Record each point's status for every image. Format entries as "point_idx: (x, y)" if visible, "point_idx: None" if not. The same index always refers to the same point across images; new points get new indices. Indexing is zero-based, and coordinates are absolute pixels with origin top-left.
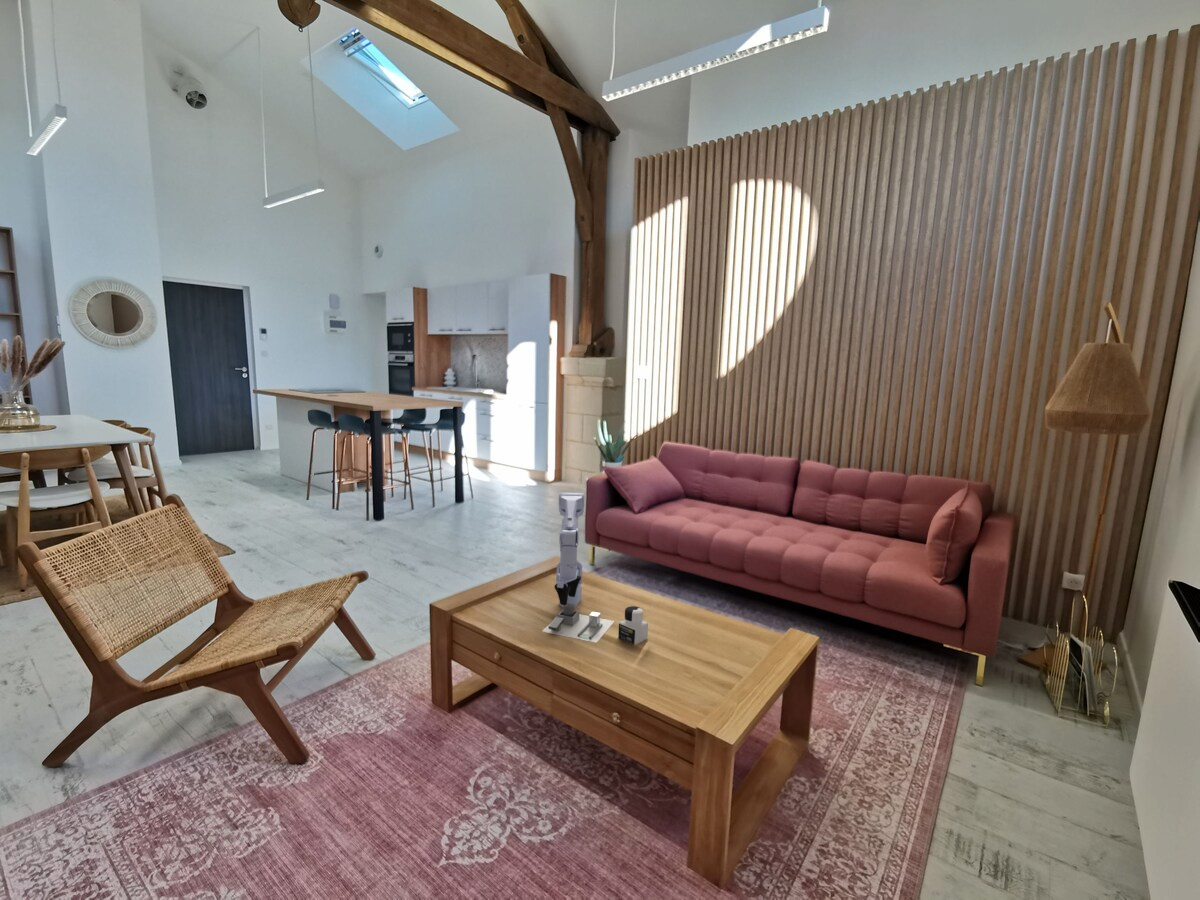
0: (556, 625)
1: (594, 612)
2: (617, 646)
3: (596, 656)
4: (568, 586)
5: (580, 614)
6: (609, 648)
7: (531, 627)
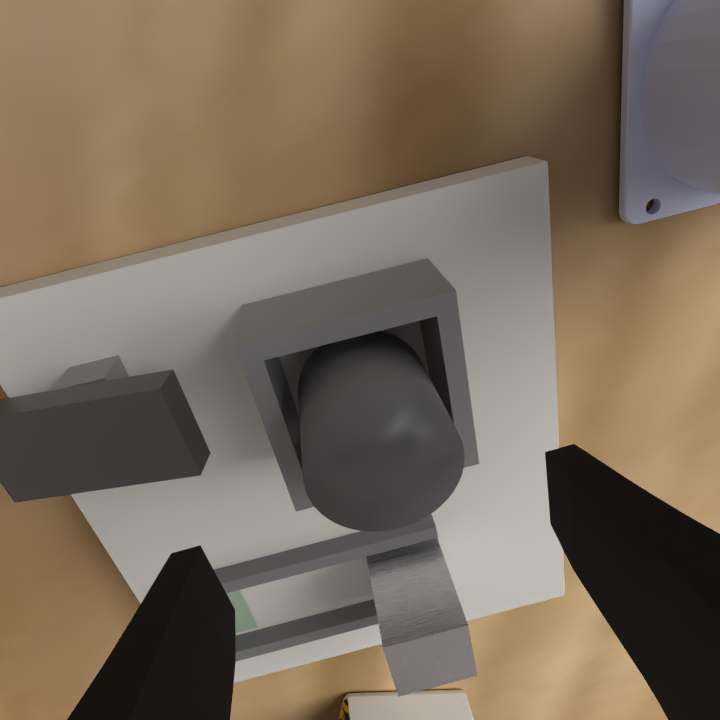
0: (45, 480)
1: (463, 642)
2: (298, 711)
3: None
4: (672, 593)
5: (554, 357)
6: (245, 703)
7: (6, 45)
